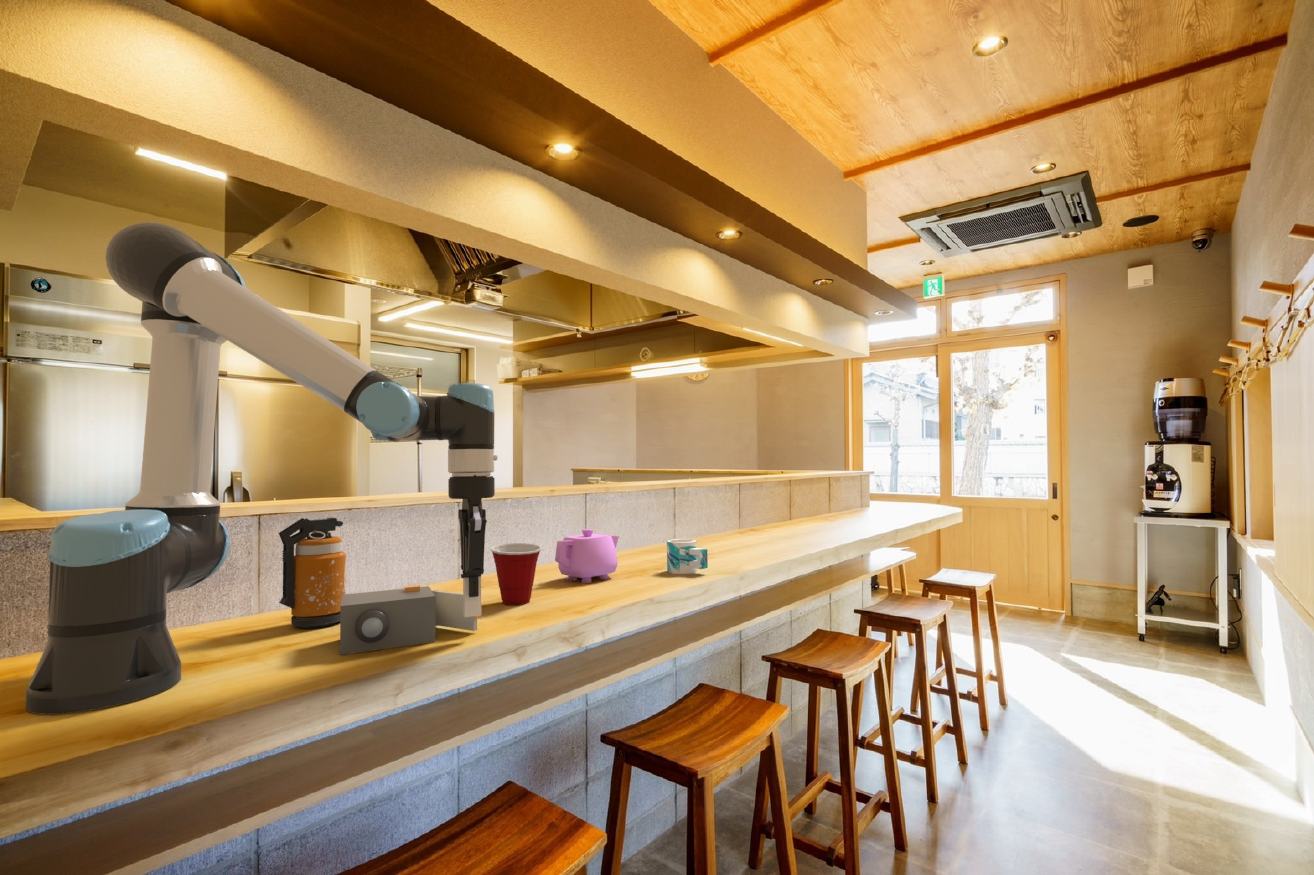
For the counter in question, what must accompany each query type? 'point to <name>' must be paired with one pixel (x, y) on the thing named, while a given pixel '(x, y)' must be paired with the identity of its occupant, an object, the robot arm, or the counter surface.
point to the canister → (313, 572)
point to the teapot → (587, 556)
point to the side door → (452, 611)
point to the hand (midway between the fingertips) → (472, 615)
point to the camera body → (386, 619)
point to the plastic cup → (515, 570)
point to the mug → (685, 556)
